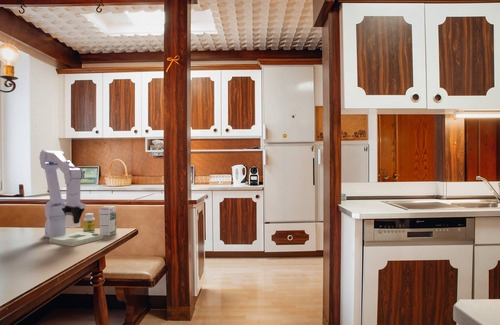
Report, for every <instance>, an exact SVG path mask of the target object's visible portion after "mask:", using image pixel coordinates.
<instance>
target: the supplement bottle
mask: <svg viewBox="0 0 500 325" xmlns="http://www.w3.org/2000/svg"><path fill="white" fill-rule="evenodd" d="M94 215H95V214H94V213H93V212H88V213H85V214H84V216H85V217H84V218H83V227H82V228H83V231H82V232H89V233H95V228H96V217H94Z"/></svg>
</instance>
